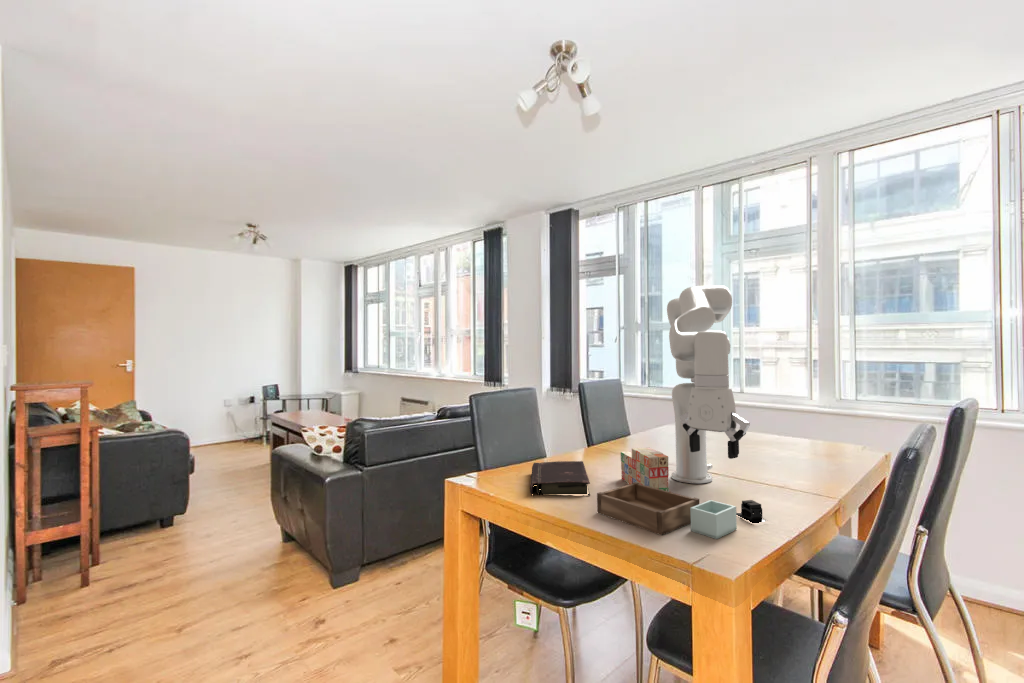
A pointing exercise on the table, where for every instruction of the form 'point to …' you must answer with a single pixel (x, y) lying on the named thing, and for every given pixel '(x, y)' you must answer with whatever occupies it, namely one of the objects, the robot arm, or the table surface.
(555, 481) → the diary
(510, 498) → the table surface
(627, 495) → the big crate
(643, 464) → the stack of blocks
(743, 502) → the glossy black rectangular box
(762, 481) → the table surface
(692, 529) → the small crate
